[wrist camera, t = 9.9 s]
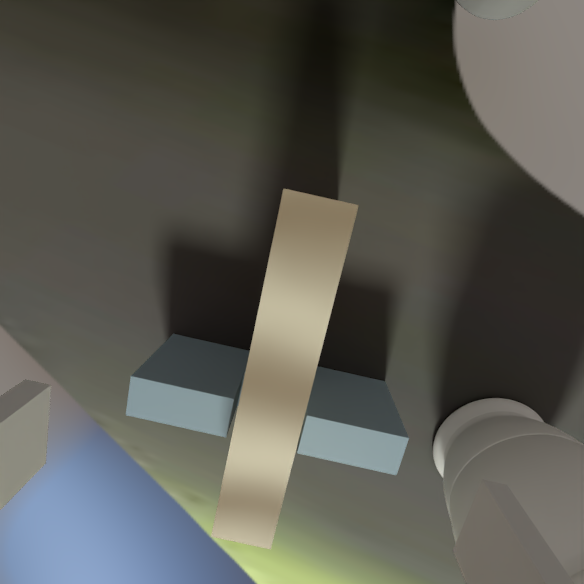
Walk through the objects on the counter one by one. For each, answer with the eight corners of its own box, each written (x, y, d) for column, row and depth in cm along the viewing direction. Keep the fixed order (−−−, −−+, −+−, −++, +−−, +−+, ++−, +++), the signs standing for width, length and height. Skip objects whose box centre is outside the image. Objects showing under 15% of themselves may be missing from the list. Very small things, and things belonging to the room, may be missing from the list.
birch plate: (293, 192, 26) (283, 188, 15) (337, 202, 26) (358, 205, 15) (246, 415, 30) (211, 536, 19) (284, 423, 30) (270, 549, 19)
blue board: (168, 364, 29) (125, 415, 22) (173, 333, 28) (130, 376, 22) (376, 410, 29) (396, 475, 22) (385, 381, 29) (409, 438, 22)
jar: (420, 506, 31) (519, 778, 17) (414, 389, 29) (522, 586, 14) (558, 497, 30) (788, 772, 16) (563, 376, 28) (837, 569, 13)
